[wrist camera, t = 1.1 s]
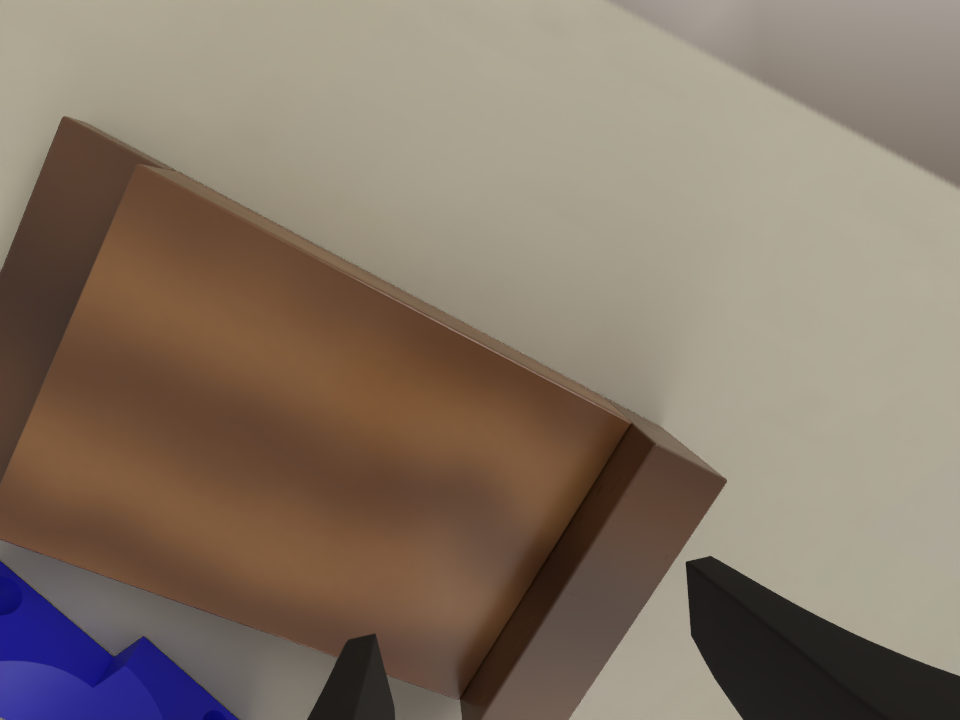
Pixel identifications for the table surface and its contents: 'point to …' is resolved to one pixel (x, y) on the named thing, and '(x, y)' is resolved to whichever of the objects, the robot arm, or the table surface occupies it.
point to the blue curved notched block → (84, 670)
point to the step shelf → (316, 444)
